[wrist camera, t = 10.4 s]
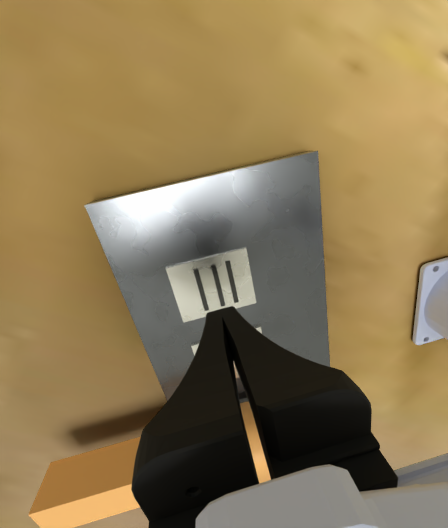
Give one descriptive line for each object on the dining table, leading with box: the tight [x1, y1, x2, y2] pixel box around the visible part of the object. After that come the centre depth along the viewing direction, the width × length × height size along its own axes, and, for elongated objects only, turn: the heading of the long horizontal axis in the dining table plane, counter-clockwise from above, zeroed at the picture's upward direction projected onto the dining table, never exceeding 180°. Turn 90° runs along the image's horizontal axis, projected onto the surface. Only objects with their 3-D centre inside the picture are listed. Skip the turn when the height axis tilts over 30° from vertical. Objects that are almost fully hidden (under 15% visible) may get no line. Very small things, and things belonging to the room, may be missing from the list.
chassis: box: [85, 151, 330, 403], centre depth 18 cm, size 13×19×2 cm
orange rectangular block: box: [29, 401, 271, 528], centre depth 18 cm, size 16×4×4 cm, turn 101°
